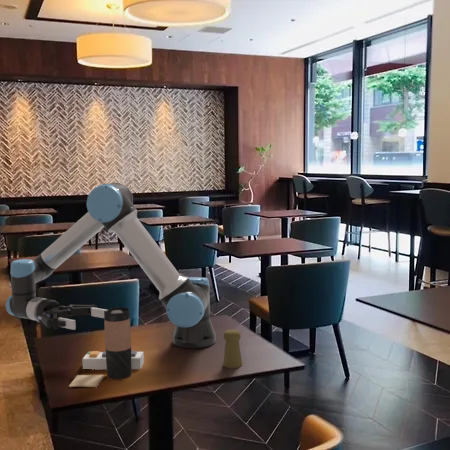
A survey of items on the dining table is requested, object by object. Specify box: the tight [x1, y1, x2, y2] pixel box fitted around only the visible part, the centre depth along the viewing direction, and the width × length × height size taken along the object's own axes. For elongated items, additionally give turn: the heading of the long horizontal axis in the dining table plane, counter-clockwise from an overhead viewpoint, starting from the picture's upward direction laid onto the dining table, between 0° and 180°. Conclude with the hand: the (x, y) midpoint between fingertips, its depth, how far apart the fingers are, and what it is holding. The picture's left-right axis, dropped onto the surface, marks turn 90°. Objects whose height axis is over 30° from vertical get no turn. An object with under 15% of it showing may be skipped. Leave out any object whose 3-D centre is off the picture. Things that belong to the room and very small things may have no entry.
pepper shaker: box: [222, 329, 243, 369], centre depth 177 cm, size 6×6×11 cm
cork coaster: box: [68, 374, 105, 388], centre depth 166 cm, size 8×8×1 cm
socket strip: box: [81, 350, 145, 371], centre depth 179 cm, size 18×6×4 cm, turn 88°
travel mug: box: [103, 306, 132, 380], centre depth 170 cm, size 8×8×20 cm
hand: (91, 319), depth 174 cm, fingers open, 13 cm apart
